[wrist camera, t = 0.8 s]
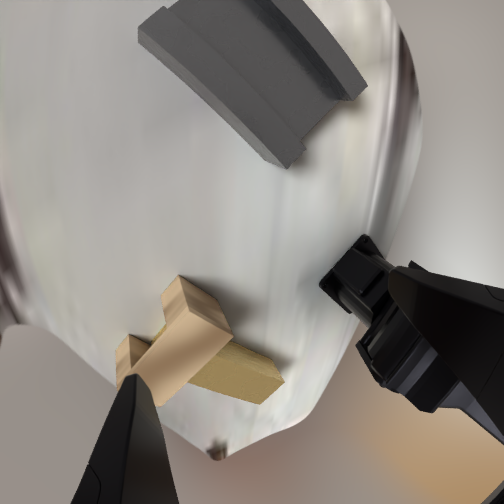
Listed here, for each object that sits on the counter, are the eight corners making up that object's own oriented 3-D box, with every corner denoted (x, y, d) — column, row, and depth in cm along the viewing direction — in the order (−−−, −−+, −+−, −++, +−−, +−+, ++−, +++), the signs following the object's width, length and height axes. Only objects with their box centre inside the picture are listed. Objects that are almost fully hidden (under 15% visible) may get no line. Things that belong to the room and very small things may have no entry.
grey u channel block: (338, 86, 20) (368, 85, 17) (264, 160, 21) (286, 169, 18) (232, -30, 13) (250, -51, 11) (138, 42, 14) (137, 27, 11)
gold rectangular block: (270, 357, 30) (284, 382, 27) (247, 379, 30) (259, 404, 27) (174, 311, 24) (181, 340, 21) (150, 339, 24) (155, 370, 21)
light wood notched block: (216, 299, 24) (234, 336, 20) (153, 367, 25) (160, 407, 21) (178, 274, 22) (189, 311, 18) (115, 350, 23) (117, 391, 19)
